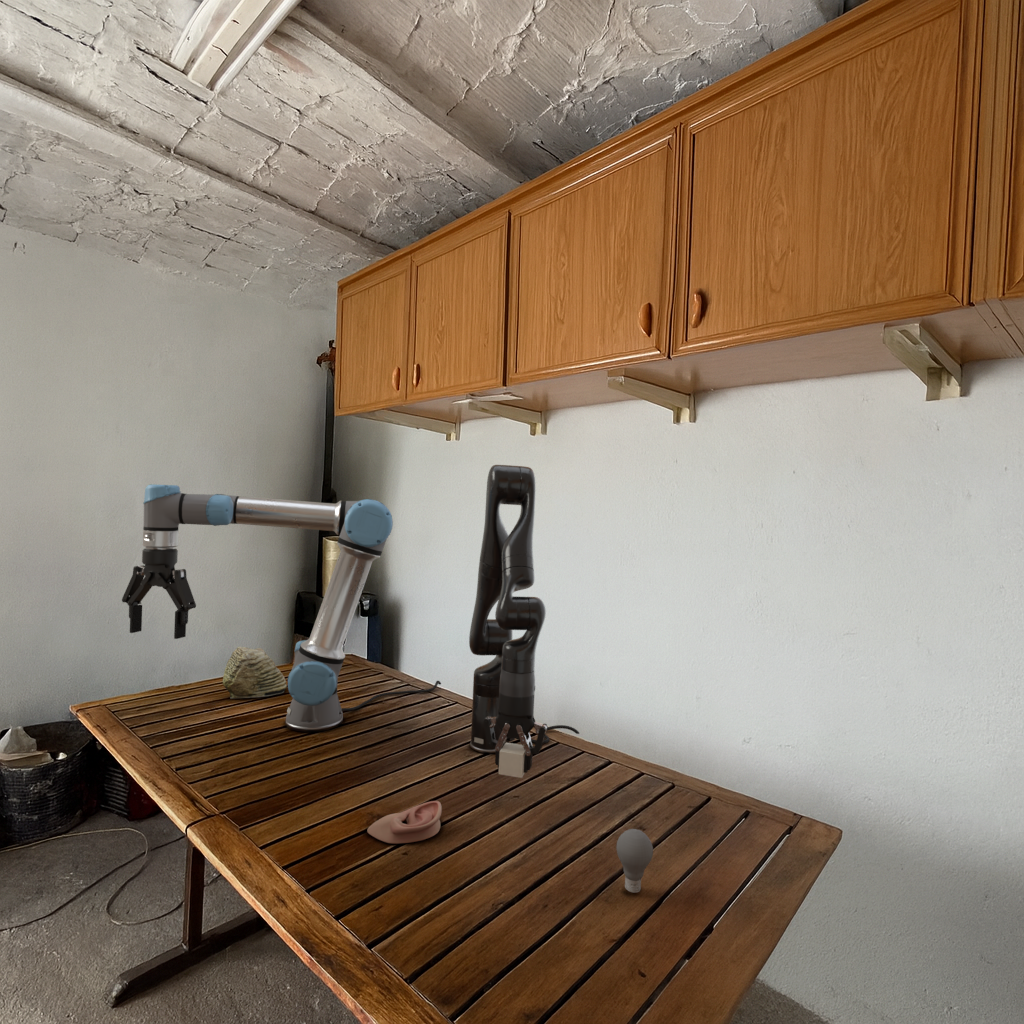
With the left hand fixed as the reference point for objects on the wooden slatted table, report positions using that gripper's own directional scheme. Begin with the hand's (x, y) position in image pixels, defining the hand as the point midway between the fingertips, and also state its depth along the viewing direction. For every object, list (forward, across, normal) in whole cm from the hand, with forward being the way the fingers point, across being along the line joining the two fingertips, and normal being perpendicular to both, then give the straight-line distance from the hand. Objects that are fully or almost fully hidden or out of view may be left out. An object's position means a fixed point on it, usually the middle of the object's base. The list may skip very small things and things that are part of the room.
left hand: (157, 634), depth 154 cm
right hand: (+21, +90, +6) cm, 92 cm away
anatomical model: (+28, +74, -12) cm, 80 cm away
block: (+21, +90, +6) cm, 92 cm away
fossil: (+28, -6, +43) cm, 52 cm away
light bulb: (+28, +118, -16) cm, 122 cm away
